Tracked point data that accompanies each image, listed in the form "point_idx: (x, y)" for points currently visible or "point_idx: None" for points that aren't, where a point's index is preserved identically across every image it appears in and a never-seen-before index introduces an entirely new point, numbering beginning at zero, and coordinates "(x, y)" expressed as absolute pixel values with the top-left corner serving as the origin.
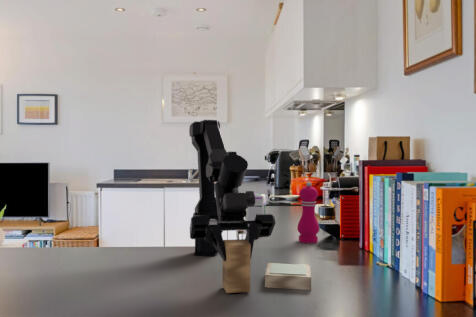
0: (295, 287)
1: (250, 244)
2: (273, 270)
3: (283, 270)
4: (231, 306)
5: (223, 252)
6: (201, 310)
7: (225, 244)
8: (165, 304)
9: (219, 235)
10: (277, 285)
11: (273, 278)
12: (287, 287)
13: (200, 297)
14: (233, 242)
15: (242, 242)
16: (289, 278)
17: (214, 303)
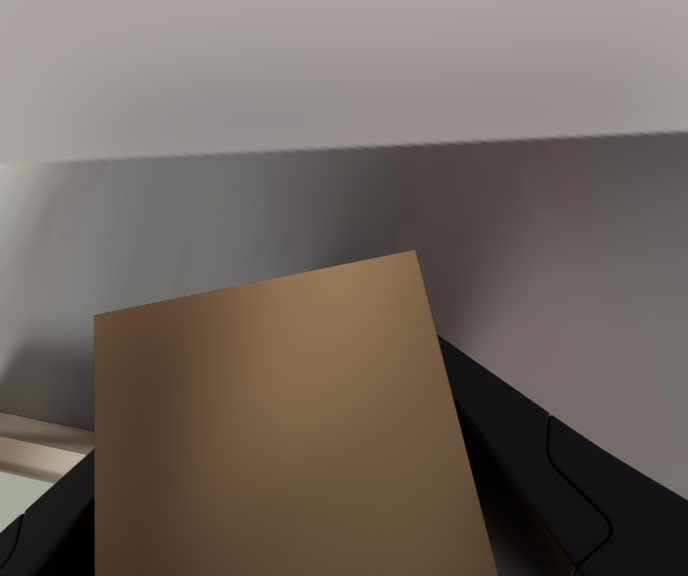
0: (39, 422)
1: (98, 318)
2: None
3: None
4: (364, 201)
5: (447, 352)
6: (480, 158)
7: (444, 382)
8: (651, 212)
9: (647, 562)
10: None
11: None
12: (77, 429)
13: (510, 300)
14: (323, 432)
15: (185, 434)
16: (24, 434)
17: (436, 230)
